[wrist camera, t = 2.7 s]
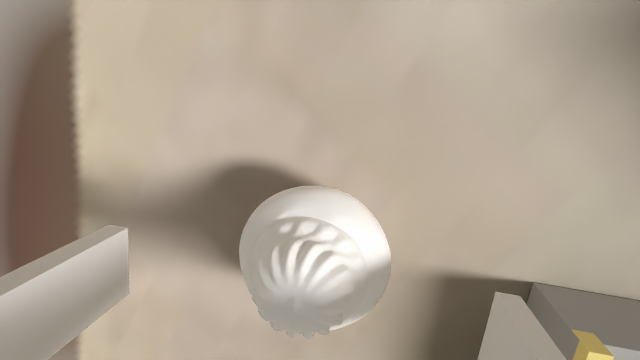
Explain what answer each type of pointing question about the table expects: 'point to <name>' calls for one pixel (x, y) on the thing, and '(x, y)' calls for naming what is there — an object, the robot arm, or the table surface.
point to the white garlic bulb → (313, 260)
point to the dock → (587, 323)
